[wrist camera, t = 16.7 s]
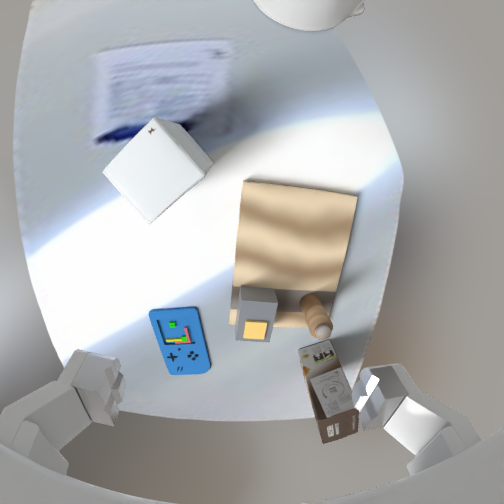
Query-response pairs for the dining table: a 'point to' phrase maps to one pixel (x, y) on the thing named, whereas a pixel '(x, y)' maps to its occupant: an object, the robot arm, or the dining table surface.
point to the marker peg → (316, 316)
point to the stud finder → (255, 314)
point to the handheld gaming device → (181, 340)
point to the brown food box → (328, 392)
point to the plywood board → (291, 245)
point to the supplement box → (158, 167)
